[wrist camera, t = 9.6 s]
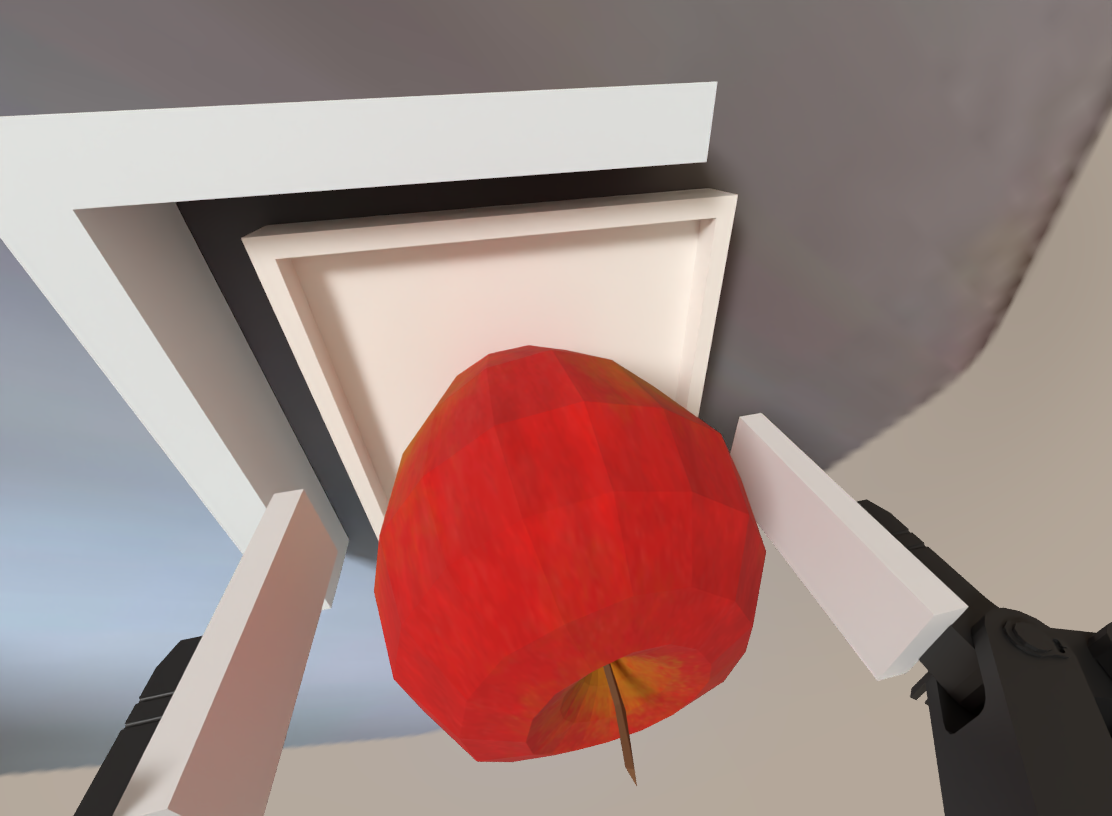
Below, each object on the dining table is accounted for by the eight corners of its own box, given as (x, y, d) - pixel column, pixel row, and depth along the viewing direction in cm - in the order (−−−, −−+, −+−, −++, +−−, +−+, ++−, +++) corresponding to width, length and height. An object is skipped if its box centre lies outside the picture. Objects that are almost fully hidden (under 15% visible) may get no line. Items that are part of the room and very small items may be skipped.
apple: (444, 511, 19) (447, 923, 9) (356, 328, 14) (135, 821, 4) (637, 454, 20) (836, 771, 10) (623, 262, 14) (1012, 522, 5)
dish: (394, 533, 20) (389, 564, 19) (266, 225, 12) (241, 238, 11) (666, 484, 22) (681, 509, 21) (709, 187, 14) (737, 195, 13)
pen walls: (310, 547, 20) (284, 617, 17) (52, 123, 10) (-103, 121, 8) (629, 490, 22) (654, 544, 19) (658, 92, 12) (717, 81, 10)
